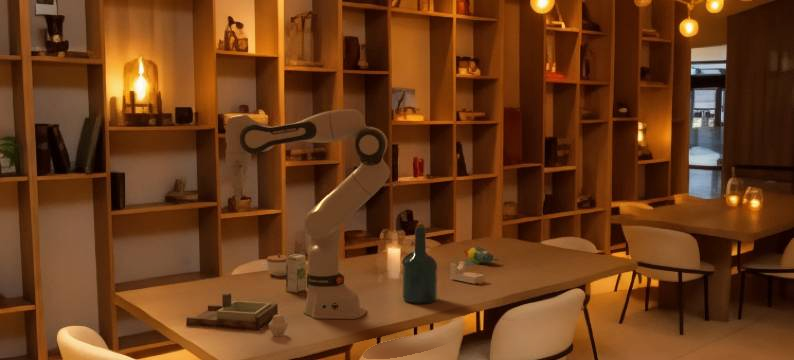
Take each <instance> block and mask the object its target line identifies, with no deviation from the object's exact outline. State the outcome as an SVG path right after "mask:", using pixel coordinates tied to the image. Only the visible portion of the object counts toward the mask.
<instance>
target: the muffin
mask: <svg viewBox="0 0 794 360" xmlns="http://www.w3.org/2000/svg"><path fill="white" fill-rule="evenodd" d="M267 325H268V328H269V330H270V332H271V334H272V336H273V337H275V336H280V337H283V336H284V335H285V332H286V331H287V327H288V322H287V321H286V320H285V318H284V316H283V315H282V314H278V315H274V316H273V318H272V320H271V322H269V323H268V324H267ZM282 335H283V336H282Z"/></svg>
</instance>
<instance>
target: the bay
mask: <svg viewBox="0 0 794 360" xmlns="http://www.w3.org/2000/svg"><path fill="white" fill-rule="evenodd" d="M278 306H279V305H278V303H273V304H271V306H270V307H269V308H267V309H266V310H265V311H263V312H262V313H260V314H259V315H257V316H256V317H255V322H252V321H238V320H224V319H217V311H218V310H219V309H221V308H223V305H219V304H217V305H215V304H208V305H207V310H205V311H204V312H202V313H200V314H198V315H197V316H194V317H192V316H187V317H186V319H185V322H186V326H192V327H193V326H194V327H207V328H222V329H233V330H234V329H235V330H246V329H248V330H249V331H260V330H261V328H262V329H263V328H264V327H266V326H267V325H269V323H270V322H271V320H272V318H273V316H274V315H279V314H278V312H279V311H278Z"/></svg>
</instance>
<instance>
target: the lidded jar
mask: <svg viewBox="0 0 794 360" xmlns="http://www.w3.org/2000/svg"><path fill="white" fill-rule="evenodd" d="M287 256H288V255H285V254H284V255H283V254H281V253H277V255H269V256H267V257H266V265H267V269H268V272H270V274H271V275H272V276H273V277H282V276H286V257H287Z"/></svg>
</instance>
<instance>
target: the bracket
mask: <svg viewBox="0 0 794 360" xmlns="http://www.w3.org/2000/svg"><path fill="white" fill-rule="evenodd" d="M458 263H459V265H458V266H457V264H458ZM458 263H457V264H456V263H452V262H451V263H450V269H449V270H450V271H449V272H450V273H449V274H450V276H449V277H450V280H453V281H454V280H455V281H460V282H465V283H468V284H469V283H470V284H477V285H480V284H483V283H485V274H482V273H478V272H477V273H476V272H471V271H466V266H465V261H459V262H458Z"/></svg>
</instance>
